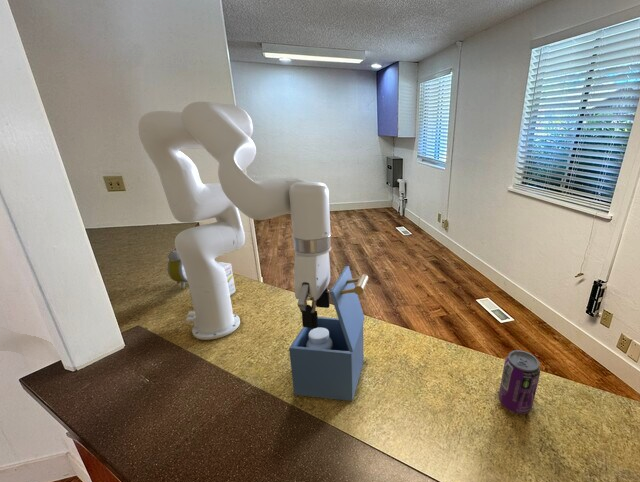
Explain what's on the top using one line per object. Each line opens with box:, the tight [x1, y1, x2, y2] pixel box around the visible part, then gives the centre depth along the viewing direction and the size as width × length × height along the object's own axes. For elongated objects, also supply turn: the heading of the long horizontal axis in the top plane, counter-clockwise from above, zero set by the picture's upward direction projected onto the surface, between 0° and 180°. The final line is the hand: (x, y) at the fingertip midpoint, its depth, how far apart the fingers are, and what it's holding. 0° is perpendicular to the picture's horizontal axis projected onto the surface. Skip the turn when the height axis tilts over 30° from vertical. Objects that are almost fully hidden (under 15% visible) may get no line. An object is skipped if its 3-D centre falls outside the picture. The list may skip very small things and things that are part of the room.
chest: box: [288, 316, 365, 402], centre depth 72 cm, size 14×13×13 cm
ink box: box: [216, 261, 236, 296], centre depth 108 cm, size 9×8×12 cm
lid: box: [329, 265, 369, 352], centre depth 67 cm, size 14×13×6 cm
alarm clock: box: [166, 249, 188, 290], centre depth 116 cm, size 12×7×15 cm, turn 179°
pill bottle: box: [306, 328, 333, 350], centre depth 72 cm, size 6×6×11 cm
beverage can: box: [498, 349, 541, 415], centre depth 66 cm, size 7×7×12 cm
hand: (317, 316), depth 69 cm, fingers open, 7 cm apart
